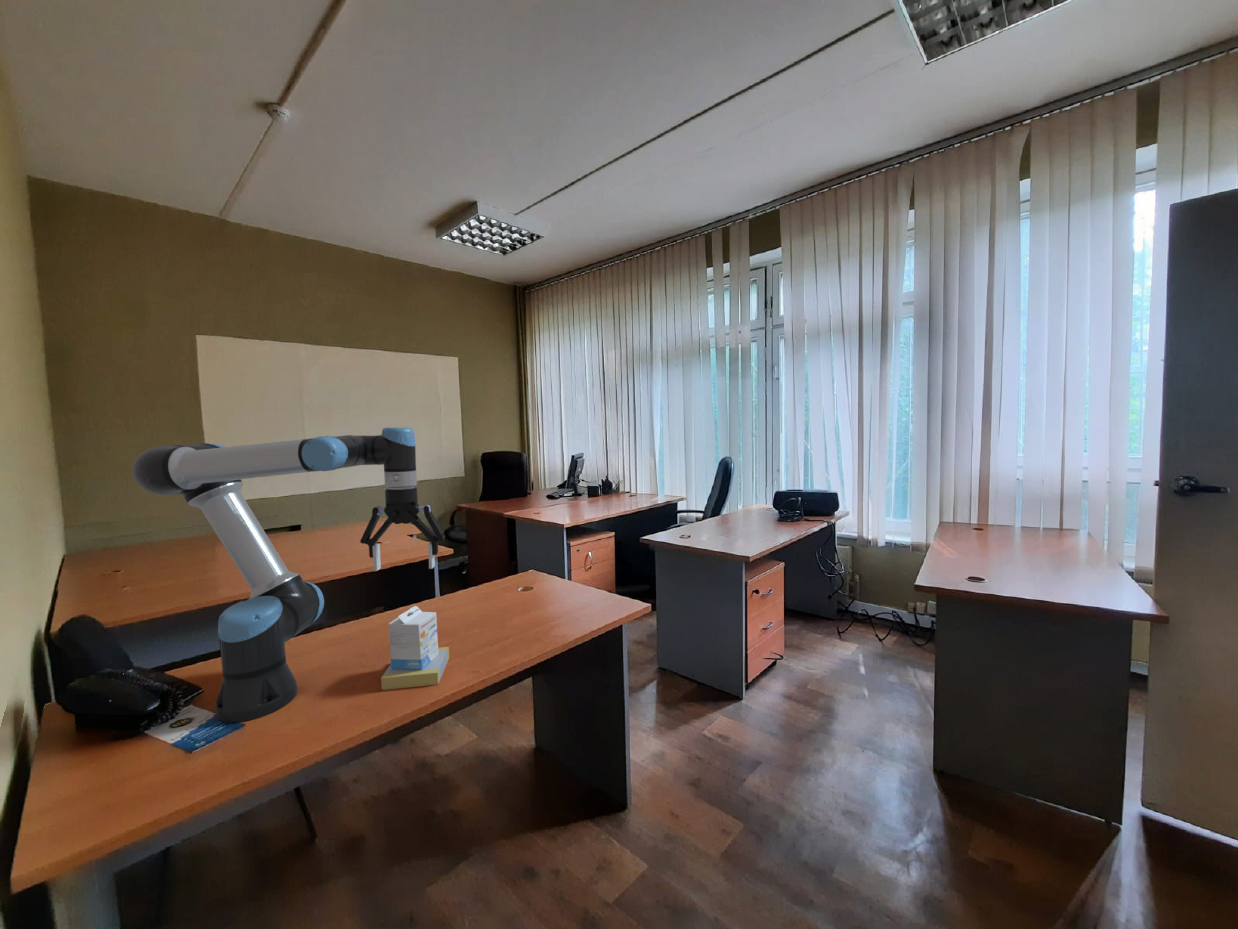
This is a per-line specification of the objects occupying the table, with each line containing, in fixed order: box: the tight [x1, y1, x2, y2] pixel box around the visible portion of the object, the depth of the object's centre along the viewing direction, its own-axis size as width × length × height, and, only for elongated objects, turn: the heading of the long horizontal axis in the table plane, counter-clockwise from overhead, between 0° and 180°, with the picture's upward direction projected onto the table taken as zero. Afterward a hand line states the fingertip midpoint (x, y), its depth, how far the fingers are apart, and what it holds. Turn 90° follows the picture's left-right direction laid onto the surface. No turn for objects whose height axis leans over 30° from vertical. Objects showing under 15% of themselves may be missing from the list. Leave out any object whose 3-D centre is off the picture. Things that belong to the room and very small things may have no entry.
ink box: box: [388, 605, 439, 670], centre depth 121 cm, size 9×8×13 cm
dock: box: [380, 646, 450, 691], centre depth 122 cm, size 13×14×3 cm
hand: (404, 568), depth 123 cm, fingers open, 13 cm apart
